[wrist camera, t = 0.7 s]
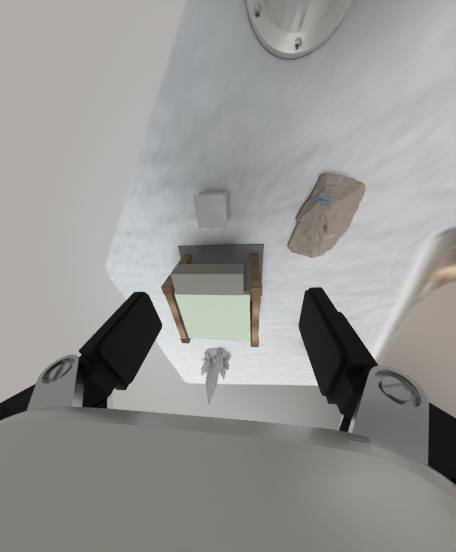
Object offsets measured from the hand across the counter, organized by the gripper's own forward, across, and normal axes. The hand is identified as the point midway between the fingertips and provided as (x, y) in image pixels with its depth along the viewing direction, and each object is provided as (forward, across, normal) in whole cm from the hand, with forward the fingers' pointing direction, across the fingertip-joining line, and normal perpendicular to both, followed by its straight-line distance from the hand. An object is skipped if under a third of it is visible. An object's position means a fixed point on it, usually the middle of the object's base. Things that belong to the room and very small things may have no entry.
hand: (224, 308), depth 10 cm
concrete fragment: (+26, -14, +2) cm, 30 cm away
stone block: (+26, +4, -2) cm, 26 cm away
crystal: (+28, +11, +50) cm, 58 cm away
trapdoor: (+16, +5, +14) cm, 21 cm away
